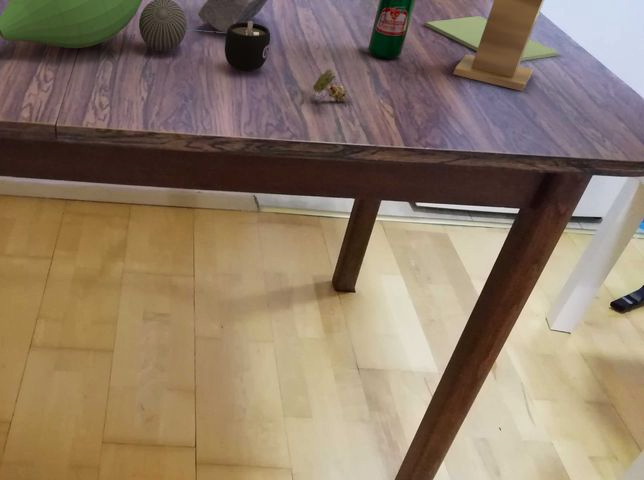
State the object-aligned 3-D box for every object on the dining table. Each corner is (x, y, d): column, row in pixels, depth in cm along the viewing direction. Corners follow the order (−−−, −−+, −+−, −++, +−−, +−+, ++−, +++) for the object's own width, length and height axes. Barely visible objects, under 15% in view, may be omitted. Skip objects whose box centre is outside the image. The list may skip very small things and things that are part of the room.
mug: (266, 79, 97) (274, 23, 92) (222, 75, 98) (227, 19, 93) (265, 48, 106) (272, -4, 101) (224, 45, 106) (229, -8, 101)
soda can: (366, 58, 106) (386, -29, 98) (367, 47, 110) (387, -38, 102) (400, 62, 105) (423, -24, 97) (400, 51, 109) (422, -33, 101)
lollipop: (235, -32, 108) (214, 2, 114) (140, -8, 97) (122, 28, 103) (270, 18, 107) (247, 49, 113) (179, 48, 97) (158, 80, 103)
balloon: (-19, 108, 105) (148, 19, 109) (-12, 100, 92) (178, 0, 96) (-74, 12, 99) (104, -77, 104) (-75, -11, 86) (130, -112, 91)
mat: (557, 55, 112) (558, 51, 111) (502, 64, 107) (503, 60, 107) (477, 19, 123) (479, 15, 123) (425, 25, 119) (426, 22, 119)
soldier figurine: (331, 77, 90) (353, 95, 92) (327, 73, 91) (349, 91, 93) (320, 91, 91) (342, 108, 93) (316, 86, 92) (338, 104, 94)
